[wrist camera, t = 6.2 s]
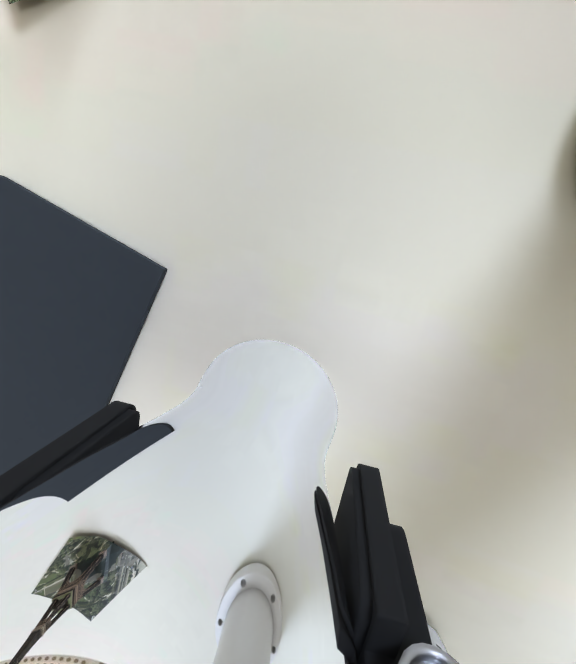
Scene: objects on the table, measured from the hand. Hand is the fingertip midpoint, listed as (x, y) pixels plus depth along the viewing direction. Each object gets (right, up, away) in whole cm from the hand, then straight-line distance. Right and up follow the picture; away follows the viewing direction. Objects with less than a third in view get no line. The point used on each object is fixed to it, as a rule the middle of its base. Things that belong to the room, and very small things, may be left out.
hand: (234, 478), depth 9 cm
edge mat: (-14, +2, +10) cm, 17 cm away
